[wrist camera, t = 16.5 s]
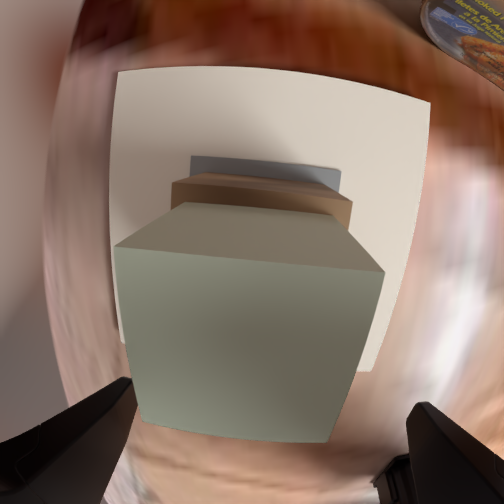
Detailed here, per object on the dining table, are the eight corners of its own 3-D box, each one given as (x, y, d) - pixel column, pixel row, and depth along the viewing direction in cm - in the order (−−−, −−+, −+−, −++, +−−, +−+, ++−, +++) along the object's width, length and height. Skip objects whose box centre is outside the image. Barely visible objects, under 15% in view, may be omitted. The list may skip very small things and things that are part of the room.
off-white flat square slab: (421, 105, 13) (432, 102, 11) (367, 361, 18) (371, 373, 17) (126, 75, 13) (116, 71, 12) (127, 334, 18) (120, 344, 17)
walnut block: (324, 184, 13) (352, 201, 9) (307, 293, 15) (320, 352, 10) (206, 171, 13) (171, 182, 9) (200, 281, 15) (171, 335, 11)
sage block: (333, 215, 9) (385, 272, 4) (310, 340, 10) (326, 442, 6) (184, 201, 9) (113, 246, 5) (184, 328, 10) (142, 421, 6)
